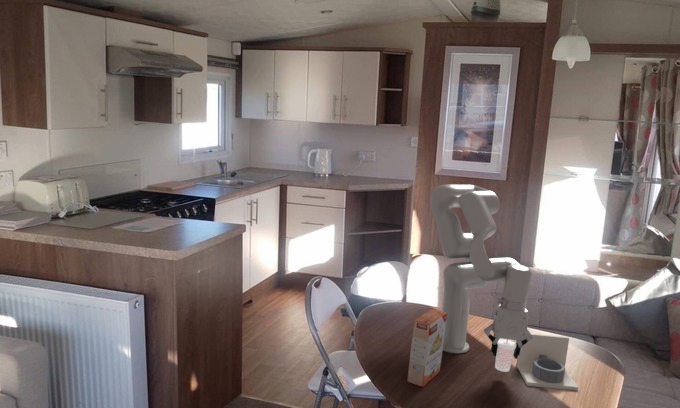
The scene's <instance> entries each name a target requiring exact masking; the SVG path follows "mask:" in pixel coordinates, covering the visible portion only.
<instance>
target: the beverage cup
mask: <svg viewBox="0 0 680 408" xmlns="http://www.w3.org/2000/svg"><path fill="white" fill-rule="evenodd" d="M516 343H517V342H515V341H514V340H509V339H501V338H500V339H499V341H498V342H497V344H498V349H497V354H496V356H495V364H494V365H495V366H494V368H495V369H496V370H497V371H500V372H505V373H508V372H510V370H511V365H512V362H513V359H514V356H513V354H514V350H515V348H516Z"/></svg>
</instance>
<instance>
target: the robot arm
mask: <svg viewBox="0 0 680 408" xmlns="http://www.w3.org/2000/svg"><path fill="white" fill-rule="evenodd" d="M429 205H430V209H431V213H432V215H433V218H434V220H435V223H436V226H437V231H438V237H439V243H440V246H441V247H440V248H441V250H442V254H443V256H444V257H445V258H446V259H448V260H467V261H460V262H459V261H458V262H453V263H450V264H448V265H446V266H445V268H444V270H443V271H442V272H443V273H442V279H443V299H442V309H441V311H442V312H445V313H447V319H446V327H445V334H444V342H443V350H442V352H446V353H450V354H464V353H467V352H468V351H470V345H469V343H468V342H467V341H466V340H467V335H468V334H467V332H468V323H469V317H470V316H469V315H470V308H471V307H470V306H471V301H470V297H469V294H468V292H467V290H471V289H477V288H484V287H486V286H488V284H489V283H494V282H504V284H503V285H504V286H503V289H502V295H501V297H496V303H499V304H498V306H497V308H496V312H495V314H494V318H493V322H492V323H491V324H490V325H489V326H487V327H486V328H484V329H483V333H484V334H485V335H486V336H487V338H489V340H490V341H491V347H490V352H491V353H492V355H493V357H496V354H497V349H498V344H497V342H498V341H499V339H508V340H511V341H516V342H515V343H516V348H515V350H514V354H513V359H515V360H517V357H518V355H519V354H520V349H521V347H522V346H523V345H524V344H526V343H527V342H528V341H530V340H531V339H533V336H532V335H531V332H530V331H529V329H528V323H529V311H528V309H527V302H528V296H529V289H530V285H531V281H532V280H531V279H532V270H531V269H530V267H528V266H525V265H523V264H521V263H519V262H518V261H517V260H516V259H514V258H513V257H510V256H509V257H508V256H507V257H490V258H489V257H488V254H487V251H486V247H485V240H488V239H489V238H490V237H492V236H493V235H494V234H495V233H496V232H497V229H498V226H497V224H496V222H495V220H494V218H493V216H492V215H495V214H497V212H499V210H500V206H501V204H500V198H499V197H498V195H497V194H496V193H495V192H494V191H492V190H489V189H487V188H484V187H481V186H478V185H476V184H475V185H474V184H469V183H468V184H466V183H465V184H459V183H457V184H456V183H450V184H449V183H447V184H441V185H438V186H436V187H435V188H434V189H433V190H432V192H431V195H430V203H429ZM453 208H460V209H461V212H462V215H463V216H464V218H465V221H466V223H467V226H468V228H469V229H470V230H469V231H470V232H464V230H463V228H462V224H461V220H460V218H459V216H458V215H457V214H456V213H455V211H454V210H452V209H453ZM491 332H492V333H493V335H492V334H491ZM526 335H527V336H526Z"/></svg>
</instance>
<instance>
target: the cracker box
mask: <svg viewBox="0 0 680 408" xmlns="http://www.w3.org/2000/svg"><path fill="white" fill-rule="evenodd" d="M446 319H447V313H445V312H442V310H438V309H434V308H431V309H429V310H427V311H426V312H425V313H423V314H421V315H420V316H419V317H417V318H415V319H414V320H413V328H412V336H411V346H410V354H409V355H410V356H409V362H408V363H409V364H408V373H407V380H406V382H407V383H409V384H413V385H415V386H418V387H420V388H424V387H425V386H426V385H427V384H428V383H429V382H431V380H433V379H434V378H435V377H436V376H437V375H439V373H440V372H441V364H442V357H443V351H442V350H443V342H444V334H445V327H446Z"/></svg>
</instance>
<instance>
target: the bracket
mask: <svg viewBox="0 0 680 408" xmlns="http://www.w3.org/2000/svg"><path fill="white" fill-rule="evenodd" d="M530 333H531V332H530ZM531 335H532V336H533V339H531V340H530V341H528V342H527V343H526V344H524V345H523V346H522V347H521V349H520V354H519V355H518V357H517V359H516V364H515V366H516V367H517V369H518V371H519V373H520V375H521V377H522V378H523V380H524V383H525V384H526V386H528V387H537V388H538V387H539V388H547V389H558V390H565V391H567V390H568V391H576V392H577V391H579V386H578V384H577V383H576V382H575V380H574V379H573V378H572V376H571V375H570V373H569V372H568V370H567V369H566V362H567V355H568V350H569V349H568V348H569V343H570V338H569V336H563V335H553V334H543V333H533V332H532V333H531ZM526 336H527V335H526Z"/></svg>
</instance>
